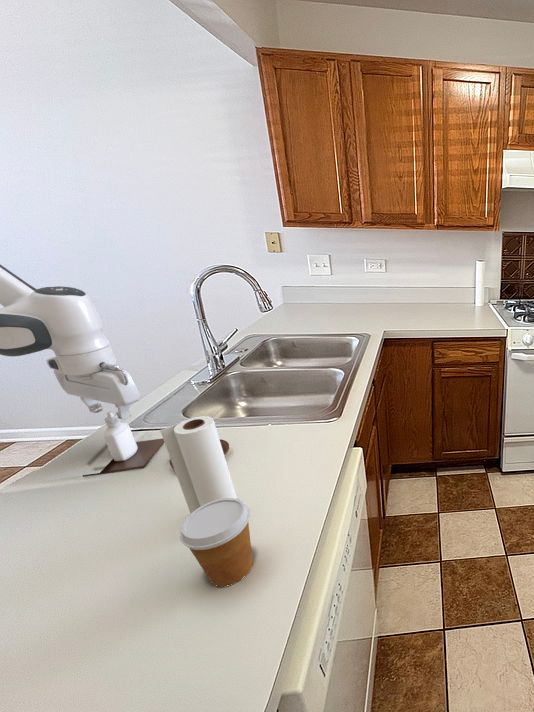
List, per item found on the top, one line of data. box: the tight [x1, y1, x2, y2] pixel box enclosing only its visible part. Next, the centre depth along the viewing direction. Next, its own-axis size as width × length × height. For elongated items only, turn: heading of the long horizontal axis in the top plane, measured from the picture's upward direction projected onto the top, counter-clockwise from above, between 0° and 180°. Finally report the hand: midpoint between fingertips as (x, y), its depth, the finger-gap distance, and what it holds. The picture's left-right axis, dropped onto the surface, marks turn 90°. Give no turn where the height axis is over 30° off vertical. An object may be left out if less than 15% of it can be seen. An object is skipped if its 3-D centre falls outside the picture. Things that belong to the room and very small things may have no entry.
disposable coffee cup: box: [179, 498, 254, 587], centre depth 65 cm, size 10×10×12 cm
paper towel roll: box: [159, 415, 238, 514], centre depth 75 cm, size 7×6×21 cm
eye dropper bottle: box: [103, 411, 138, 461], centre depth 94 cm, size 4×6×12 cm
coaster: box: [82, 437, 165, 478], centre depth 97 cm, size 12×12×1 cm
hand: (110, 414), depth 92 cm, fingers open, 8 cm apart
